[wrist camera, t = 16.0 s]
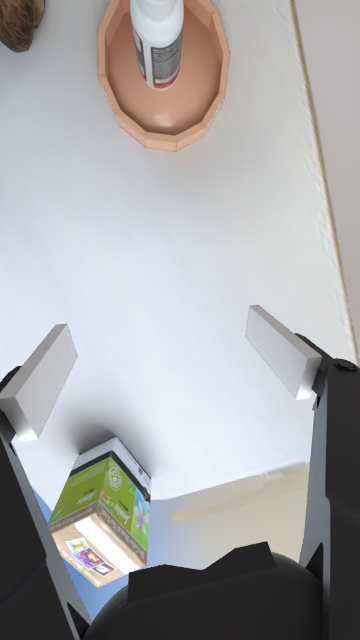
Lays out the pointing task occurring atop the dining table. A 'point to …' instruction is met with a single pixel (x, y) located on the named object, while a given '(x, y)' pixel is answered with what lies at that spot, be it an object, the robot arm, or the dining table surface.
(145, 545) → the tea box
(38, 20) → the mushroom
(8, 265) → the dining table surface
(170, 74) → the pill bottle
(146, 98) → the bowl
